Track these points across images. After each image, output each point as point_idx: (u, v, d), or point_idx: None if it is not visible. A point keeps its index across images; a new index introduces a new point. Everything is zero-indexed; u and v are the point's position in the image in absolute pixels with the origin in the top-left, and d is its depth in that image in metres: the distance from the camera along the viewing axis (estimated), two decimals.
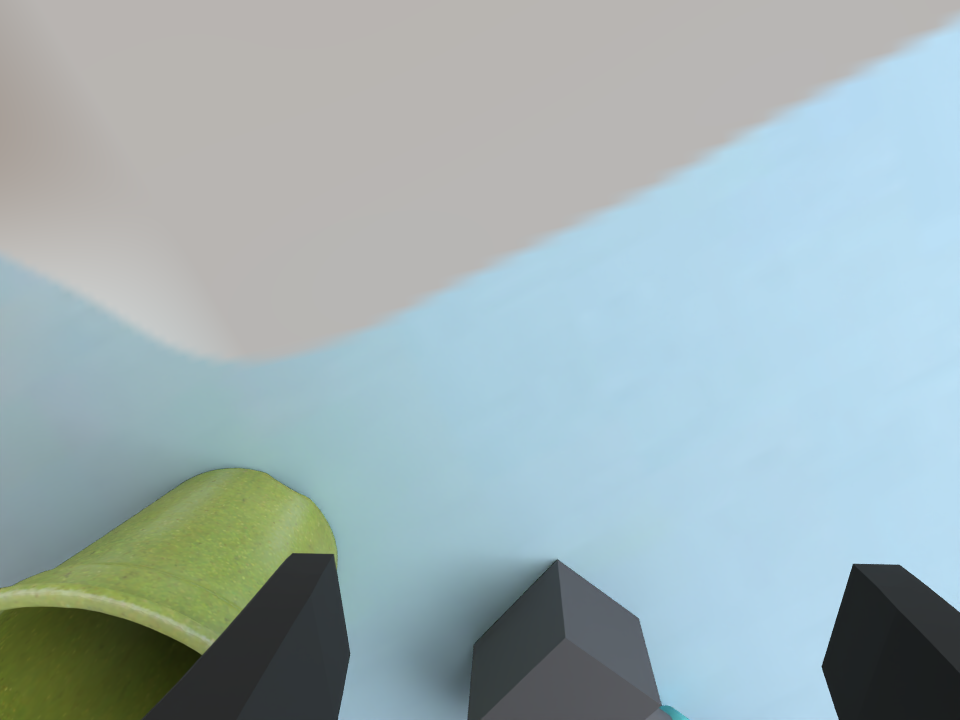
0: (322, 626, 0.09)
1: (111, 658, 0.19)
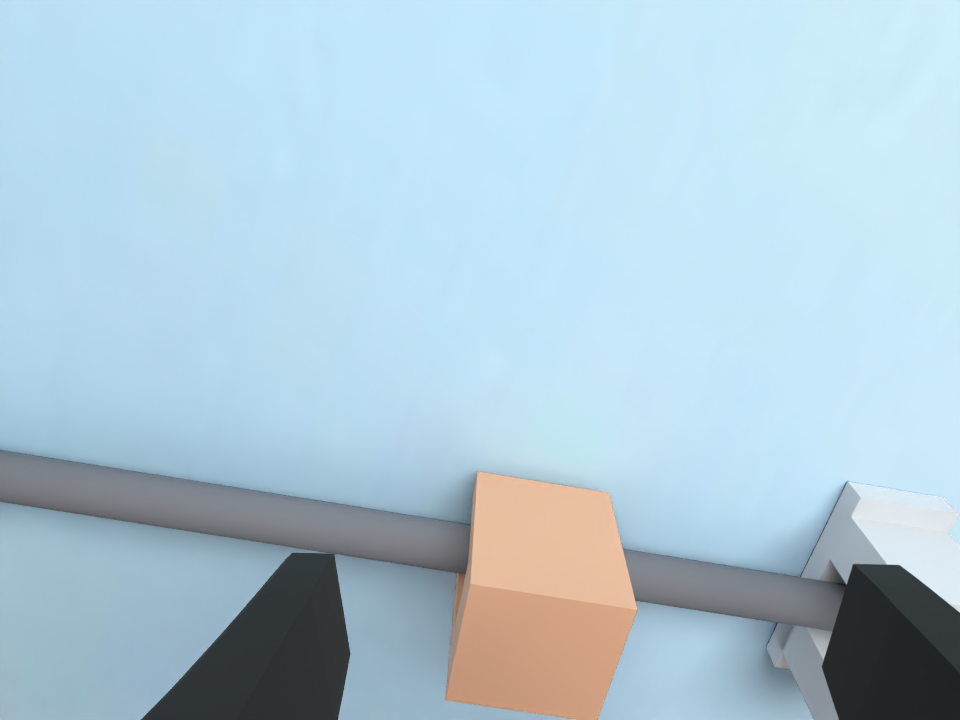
0: (322, 626, 0.09)
1: None
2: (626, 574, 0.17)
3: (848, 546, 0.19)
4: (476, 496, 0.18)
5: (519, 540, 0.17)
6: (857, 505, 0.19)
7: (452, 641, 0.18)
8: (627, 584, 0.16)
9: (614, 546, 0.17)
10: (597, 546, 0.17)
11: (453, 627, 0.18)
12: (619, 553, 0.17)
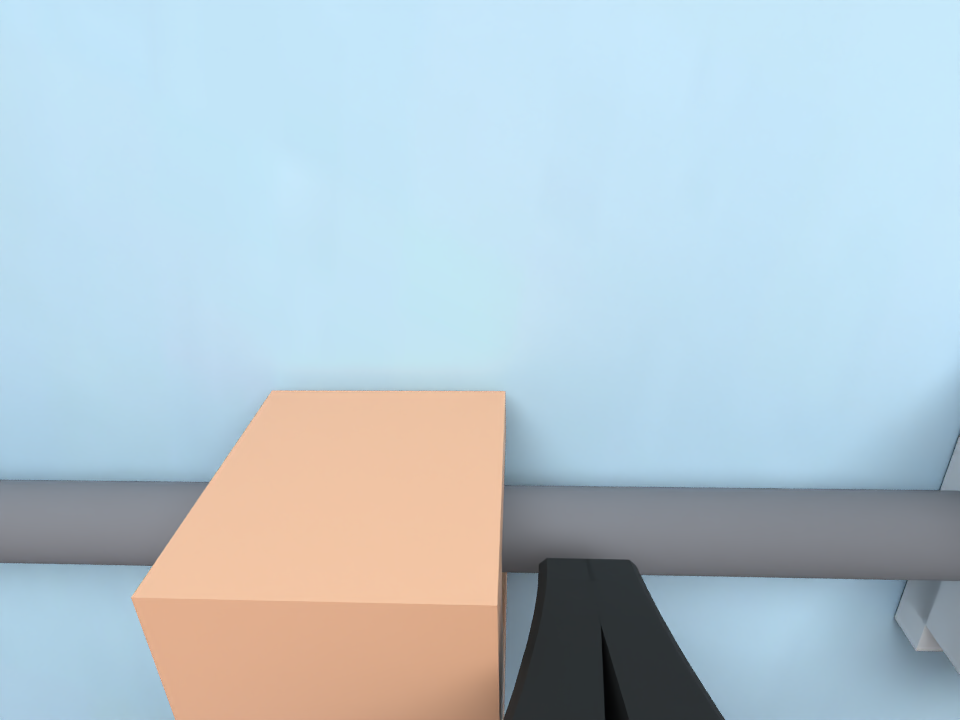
0: None
1: None
2: (494, 530, 0.08)
3: None
4: (248, 429, 0.10)
5: (291, 493, 0.09)
6: None
7: None
8: (490, 551, 0.08)
9: (485, 479, 0.09)
10: (450, 484, 0.09)
11: None
12: (492, 491, 0.09)
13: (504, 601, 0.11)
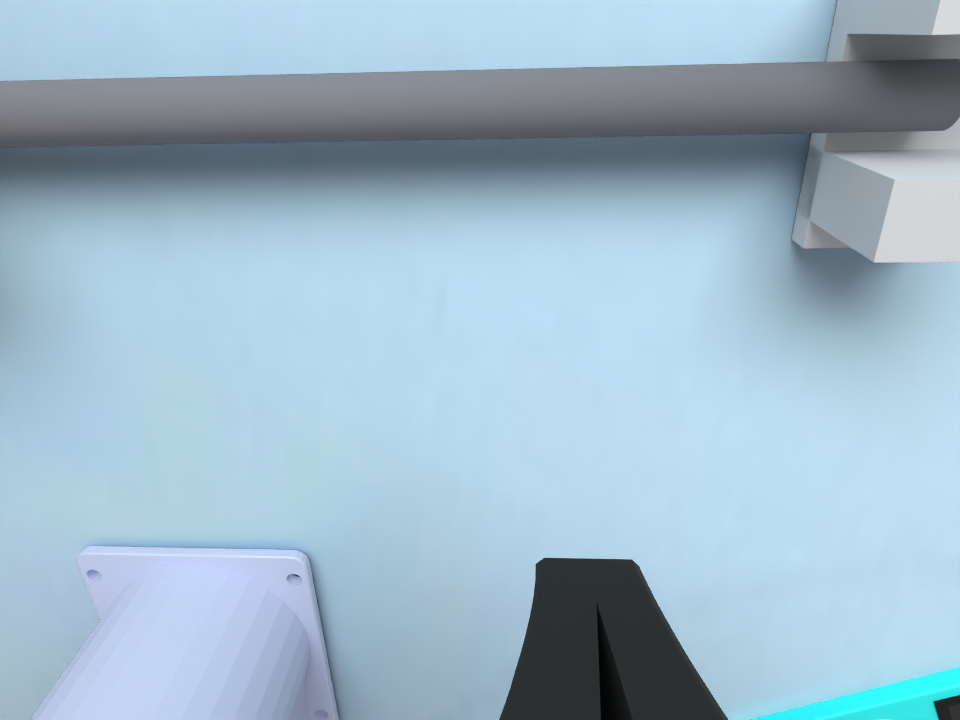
0: None
1: None
2: None
3: None
4: None
5: None
6: None
7: None
8: None
9: None
10: None
11: None
12: None
13: None
